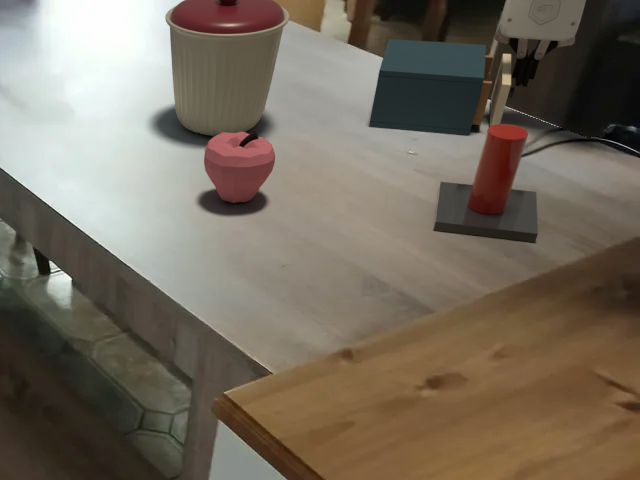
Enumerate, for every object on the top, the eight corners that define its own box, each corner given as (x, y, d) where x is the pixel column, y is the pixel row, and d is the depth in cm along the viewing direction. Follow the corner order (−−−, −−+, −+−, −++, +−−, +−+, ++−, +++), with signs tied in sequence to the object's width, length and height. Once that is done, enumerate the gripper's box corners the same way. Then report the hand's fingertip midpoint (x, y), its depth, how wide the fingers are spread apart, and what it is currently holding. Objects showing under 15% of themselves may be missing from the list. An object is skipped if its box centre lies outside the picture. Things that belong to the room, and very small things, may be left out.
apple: (259, 182, 132) (267, 112, 125) (278, 210, 125) (288, 138, 118) (193, 189, 131) (198, 119, 124) (209, 217, 125) (215, 145, 118)
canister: (300, 124, 146) (320, -21, 132) (218, 158, 138) (231, 8, 124) (217, 94, 157) (228, -43, 143) (137, 123, 149) (141, -18, 135)
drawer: (507, 98, 147) (519, 54, 143) (506, 131, 138) (520, 85, 134) (410, 90, 152) (419, 47, 147) (403, 122, 143) (413, 77, 138)
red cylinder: (505, 200, 121) (528, 126, 115) (505, 216, 118) (528, 140, 112) (467, 196, 123) (488, 122, 116) (466, 212, 120) (487, 136, 113)
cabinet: (472, 100, 150) (486, 44, 144) (469, 135, 140) (484, 77, 134) (378, 92, 154) (388, 38, 149) (368, 126, 144) (379, 70, 138)
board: (533, 200, 124) (536, 191, 123) (535, 242, 115) (538, 233, 115) (438, 189, 127) (440, 181, 126) (433, 230, 119) (435, 221, 118)
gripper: (501, -47, 127) (467, 88, 139) (623, -42, 123) (576, 96, 135) (501, -60, 132) (468, 71, 144) (618, -56, 128) (574, 78, 140)
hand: (521, 83), depth 139 cm, fingers closed
